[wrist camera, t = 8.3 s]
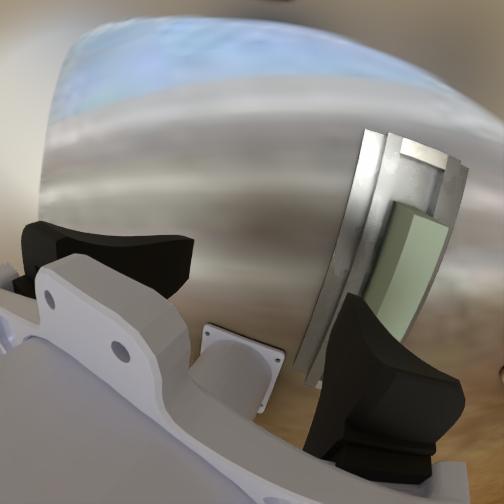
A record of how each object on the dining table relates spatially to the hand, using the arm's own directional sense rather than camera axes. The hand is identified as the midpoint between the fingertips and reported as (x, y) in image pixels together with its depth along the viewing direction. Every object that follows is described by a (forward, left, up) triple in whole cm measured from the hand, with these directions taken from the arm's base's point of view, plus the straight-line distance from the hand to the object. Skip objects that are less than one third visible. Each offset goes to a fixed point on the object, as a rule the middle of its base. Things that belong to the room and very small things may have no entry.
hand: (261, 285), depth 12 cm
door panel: (+1, -7, -8) cm, 11 cm away
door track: (-1, -7, -9) cm, 12 cm away
